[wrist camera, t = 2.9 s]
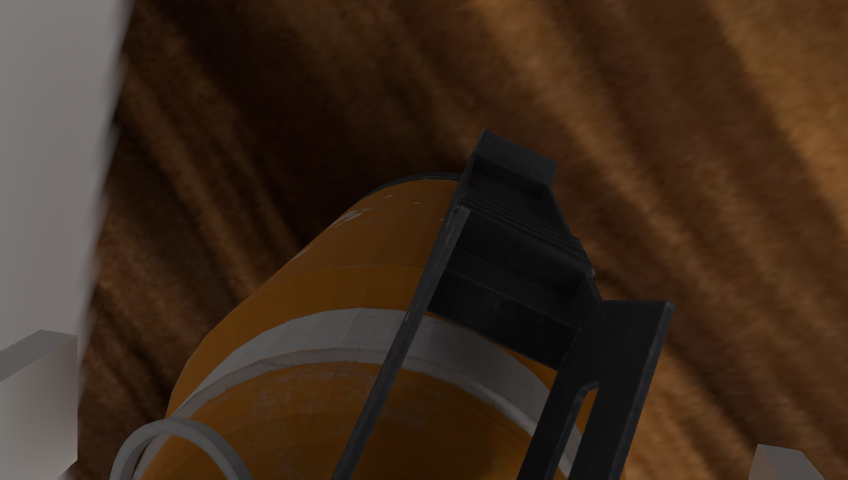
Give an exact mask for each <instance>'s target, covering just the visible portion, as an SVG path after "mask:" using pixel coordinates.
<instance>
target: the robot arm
mask: <svg viewBox="0 0 848 480" xmlns="http://www.w3.org/2000/svg"><path fill="white" fill-rule="evenodd" d="M76 460H77V335H70V334H64V333H58V332H52V331H45V330H39V331H37V332H35V333H33V334H32V335H30V336H28V337H26V338H24V339H22V340H21V341H19V342H17V343H15V344H13V345H11V346H9V347H8V348H6V349H4V350H2V351H0V480H55V479H56V478H57V477H59V476H60V475H61V474H62V473H63V472H64V471H65V470H66V469H67V468H69V467H70V466H71V465H72V464H73V463H74V462H75V461H76ZM748 480H825V479H824V478H823V477H822V476H821V475H820V473H819V472H818V471H817V470H816V469H815V467H814V466H813V465H812V464H811V463H810V461H809V460H808V459H807V458H806V457H805V455H804V454H803V453H802V452H801V451H799V450H793V449H786V448H780V447H774V446H768V445H761V444H758V445H757V449H756V453H755V457H754V460H753V464H752V468H751V472H750V475H749V479H748Z"/></svg>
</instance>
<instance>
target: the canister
mask: <svg viewBox="0 0 848 480" xmlns="http://www.w3.org/2000/svg"><path fill="white" fill-rule="evenodd" d="M557 165H558V163H557V162H555V161H553V160H551V159H548V158H546V157H544V156H542V155H540V154H538V153H536V152H533V151H531V150H529V149H527V148H525V147H523V146H520V145H518V144H516V143H514V142H512V141H510V140H507V139H505V138H503V137H501V136H499V135H497V134H494V133H492V132H490V131H488V130H486V129H483V131H482V133H481V135H480V137H479V139H478V142H477V144H476V146H475V148H474V150H473V152H472V154H471V156H470V158H469V161H468V163H467V165H466V167H465V169H464V171H463V173H462V174H457V173H447V172H429V173H420V174H413V175H409V176H405V177H402V178H398V179H395V180H392V181H390V182H388V183H386V184H384V185H382V186H379V187H377V188H376V189H374V190H373V191H371V192H370V193H368V194H367V195H365V196H364V197H362V198H361V199H360V200H359V201H357V202H356V203H355V204H354V205H353V206H352V207H351V208H349V209H348V210H347V211H346V212H345V213H344V214H342V215H341V216H340V217H339V218H338V219H337V220H336V221H334V222H333V223H332V224H331V225H330V226H329V227H328V228H326V229H325V230H324V231H323V232H322V233H321V234H320V235H318V236H317V237H316V238H315V239H314V240H313V241H312V242H310V243H309V244H308V245H307V246H306V247H305V248H304V249H302V250H301V251H300V252H299V253H298V254H297V255H296V256H294V257H293V258H292V259H291V260H290V261H289V262H288V263H286V264H285V265H284V266H283V267H282V268H281V269H280V270H278V271H277V272H276V273H275V274H274V275H273V276H272V277H270V278H269V279H268V280H267V281H266V282H265V283H264V284H262V285H261V286H260V287H259V288H258V289H257V290H255V291H254V292H253V293H252V294H251V295H250V296H249V297H247V298H246V299H245V300H244V301H243V302H242V303H241V304H239V305H238V306H237V307H236V308H235V309H234V310H233V311H231V312H230V313H229V314H228V315H227V316H226V317H225V318H224V319H223V320H222V321H221V322H220V323H219V324H218V325H217V326H216V327H215V328H214V329H213V330H211V331H210V332H209V333H208V334H207V335H206V336H205V338H204V339H203V341H202V342H201V343H200V345H199V346H198V347H197V349H196V350H195V351H194V353H193V354H192V356H191V357H190V358H189V360H188V361H187V362H186V364H185V366H184V369H183V371H182V373H181V375H180V377H179V379H178V381H177V383H176V385H175V387H174V389H173V391H172V394H171V398H170V401H169V405H168V409H167V412H166V416H165V419H162V420H159V421H155V422H152V423H149V424H146V425H144V426H142V427H141V428H139V429H137V430H136V431H134V432H133V433H132V434H131V435H130V436H129V437H128V439H127V440H126V441H125V442H124V444H123V445H122V447H121V448H120V450H119V452H118V454H117V457H116V459H115V461H114V464H113V468H112V471H111V475H110V480H131V476H132V473H133V470H134V466H135V464H136V461H137V459H138V457H139V455H140V454H141V452H142V451H143V449H144V448H145V446H146V445H147V444H148V443H149V442H150V441H151V440H152V441H151V443H150V444H149V445H148V447H147V448H146V450H145V453H144V455H143V457H142V459H141V461H140V463H139V465H138V467H137V469H136V471H135V473H134V475H133V477H132V480H625V466H624V464H625V461H626V458H627V455H628V452H629V449H630V446H631V443H632V440H633V436H634V433H635V430H636V427H637V424H638V421H639V418H640V415H641V412H642V409H643V405H644V402H645V399H646V396H647V393H648V390H649V387H650V384H651V381H652V378H653V375H654V371H655V368H656V365H657V362H658V359H659V356H660V353H661V350H662V347H663V344H664V340H665V337H666V334H667V331H668V328H669V325H670V322H671V319H672V316H673V313H674V310H675V306H676V305H675V304H673V303H671V302H669V301H661V300H602V298H601V296H600V293H599V291H598V289H597V287H596V285H595V282H594V280H593V276H594V274H595V271H594V268H593V266H592V264H591V263H590V260H589V258H588V257H587V254H586V252H585V250H584V248H583V246H582V244H581V242H580V239H579V238H577V237H574V236H573V234H572V232H571V230H570V228H569V226H568V223H567V221H566V219H565V217H564V215H563V212H562V210H561V208H560V206H559V204H558V202H557V199H556V197H555V195H554V193H553V191H552V188H551V186H552V183H553V179H554V176H555V172H556V169H557Z"/></svg>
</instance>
